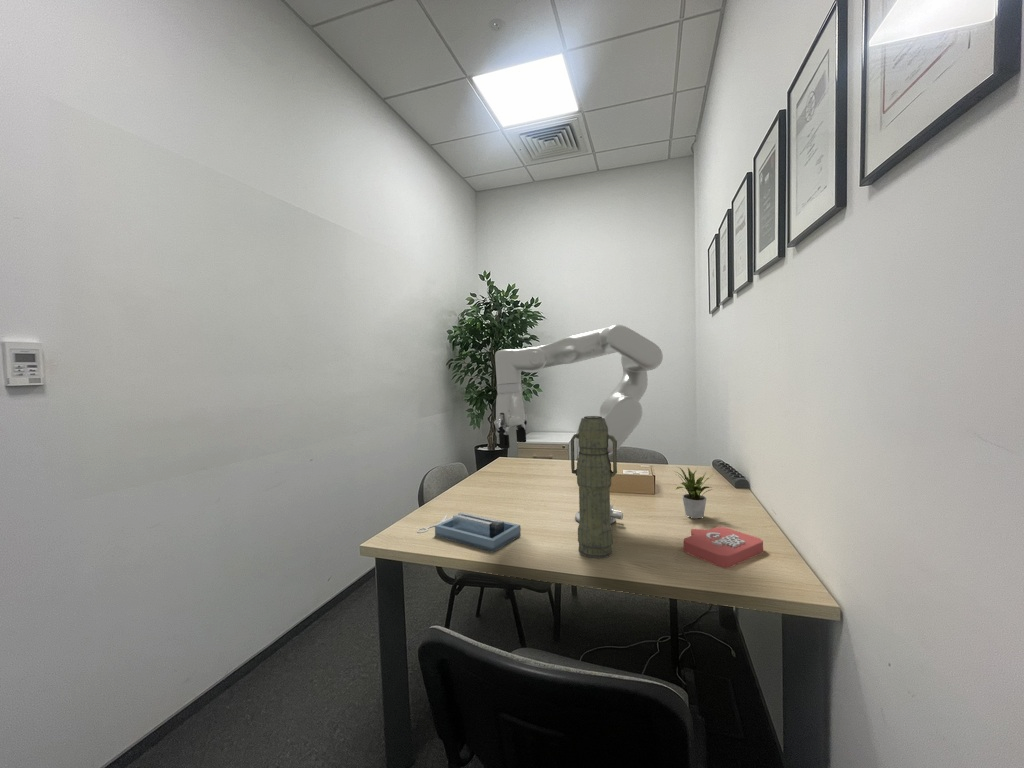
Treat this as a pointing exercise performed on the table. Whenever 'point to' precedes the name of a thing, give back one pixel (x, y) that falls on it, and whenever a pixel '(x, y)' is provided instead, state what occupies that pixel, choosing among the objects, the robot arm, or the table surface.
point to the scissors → (434, 525)
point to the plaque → (722, 546)
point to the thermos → (594, 486)
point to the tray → (478, 536)
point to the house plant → (693, 495)
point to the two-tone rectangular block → (478, 525)
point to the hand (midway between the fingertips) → (513, 444)
